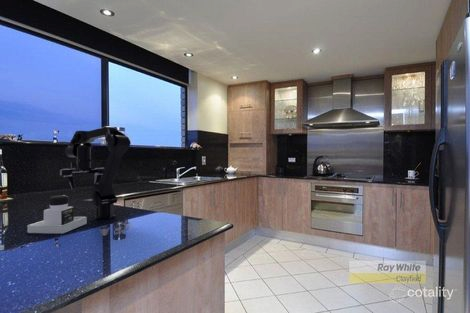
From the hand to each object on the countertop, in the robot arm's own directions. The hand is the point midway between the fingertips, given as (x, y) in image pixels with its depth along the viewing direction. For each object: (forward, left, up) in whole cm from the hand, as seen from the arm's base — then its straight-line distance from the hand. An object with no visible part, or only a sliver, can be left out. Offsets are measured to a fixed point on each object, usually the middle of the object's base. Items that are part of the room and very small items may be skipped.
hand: (84, 189), depth 124 cm
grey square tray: (-5, +23, -12) cm, 26 cm away
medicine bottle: (-5, +23, -12) cm, 26 cm away
